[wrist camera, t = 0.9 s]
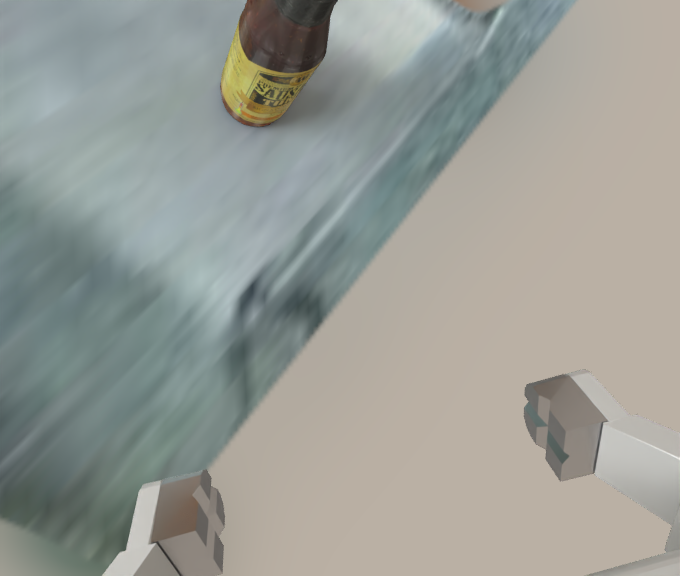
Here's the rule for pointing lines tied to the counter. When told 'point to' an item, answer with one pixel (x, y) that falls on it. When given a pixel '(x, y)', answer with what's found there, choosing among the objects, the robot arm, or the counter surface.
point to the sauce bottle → (273, 57)
